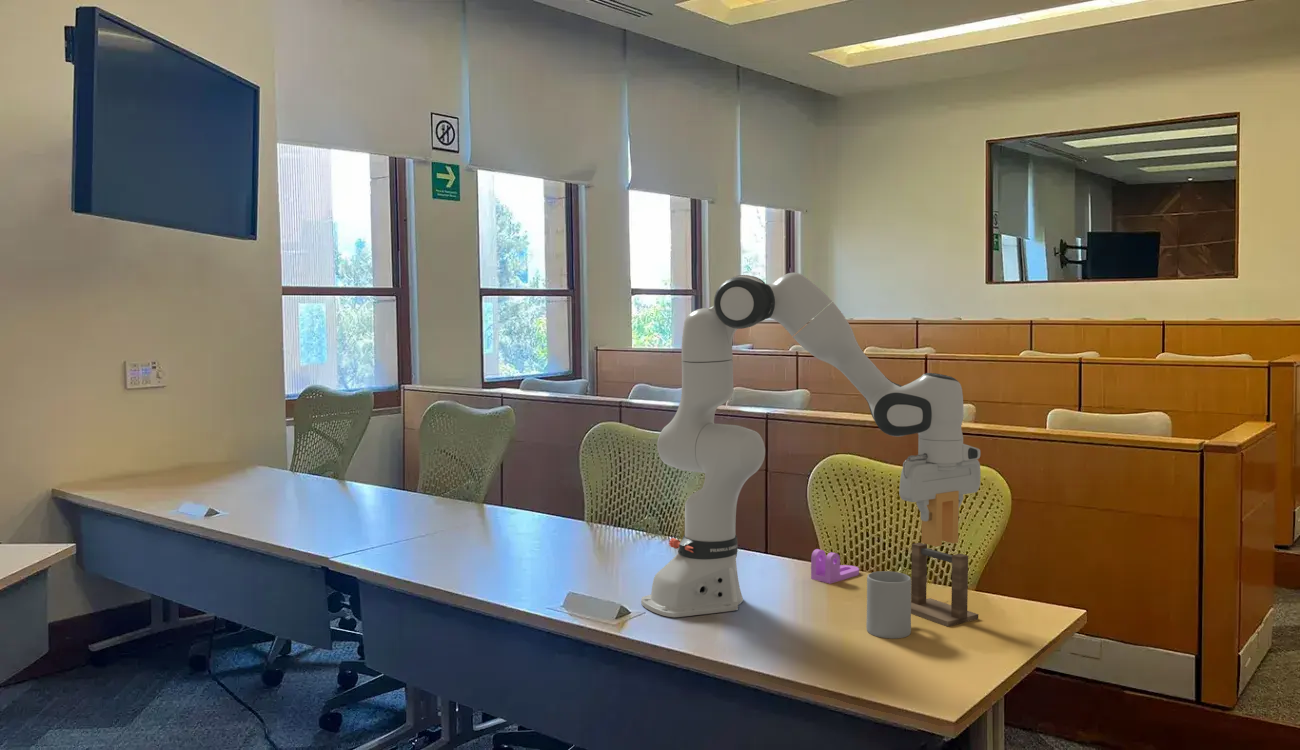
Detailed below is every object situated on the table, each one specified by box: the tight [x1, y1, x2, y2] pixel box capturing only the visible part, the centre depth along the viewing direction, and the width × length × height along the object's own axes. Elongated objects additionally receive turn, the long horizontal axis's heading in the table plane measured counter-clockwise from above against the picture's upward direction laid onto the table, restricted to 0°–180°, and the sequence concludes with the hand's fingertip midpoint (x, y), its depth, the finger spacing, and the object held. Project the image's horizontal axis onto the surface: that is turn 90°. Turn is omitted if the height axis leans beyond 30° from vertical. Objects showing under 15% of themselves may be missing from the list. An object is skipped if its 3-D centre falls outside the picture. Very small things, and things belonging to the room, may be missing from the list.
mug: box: [865, 570, 912, 639], centre depth 187 cm, size 12×8×11 cm
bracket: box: [810, 548, 860, 585], centre depth 226 cm, size 13×6×7 cm, turn 131°
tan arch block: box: [920, 491, 960, 547], centre depth 196 cm, size 6×4×11 cm, turn 120°
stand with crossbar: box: [910, 542, 979, 627], centre depth 196 cm, size 9×13×14 cm
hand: (939, 518), depth 196 cm, fingers closed on tan arch block, 6 cm apart
